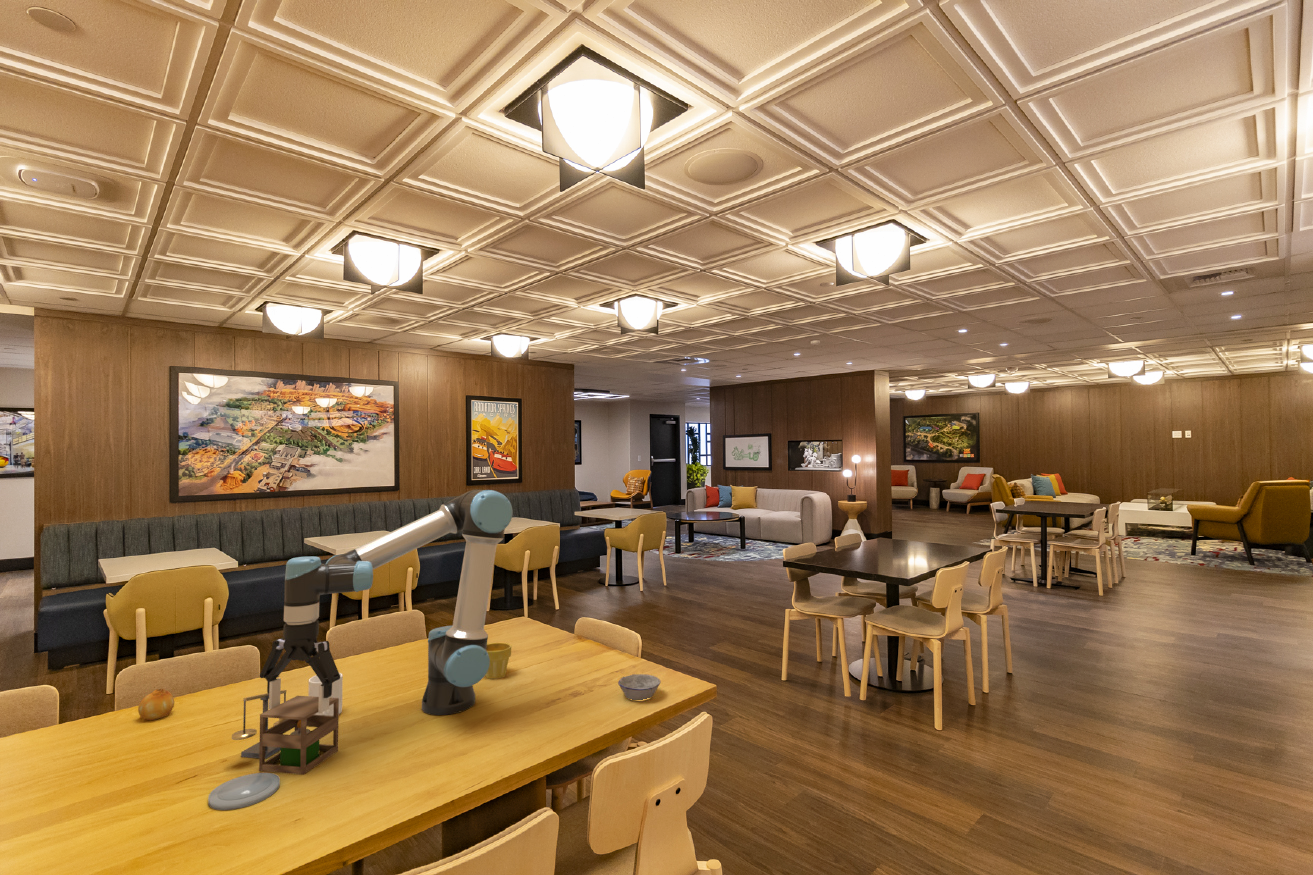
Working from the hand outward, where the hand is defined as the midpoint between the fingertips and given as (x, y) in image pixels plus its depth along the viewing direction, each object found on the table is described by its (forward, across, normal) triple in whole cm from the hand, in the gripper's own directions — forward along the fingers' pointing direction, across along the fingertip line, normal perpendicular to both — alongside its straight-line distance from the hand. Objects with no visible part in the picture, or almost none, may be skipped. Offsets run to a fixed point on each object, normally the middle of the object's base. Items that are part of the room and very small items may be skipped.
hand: (298, 709), depth 149 cm
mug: (+12, +12, -24) cm, 30 cm away
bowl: (+11, -74, -52) cm, 92 cm away
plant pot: (+12, -22, -63) cm, 68 cm away
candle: (+13, 0, 0) cm, 13 cm away
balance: (+12, +12, -3) cm, 18 cm away
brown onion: (+13, +61, -17) cm, 64 cm away
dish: (+13, +1, +15) cm, 19 cm away
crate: (+12, 0, 0) cm, 12 cm away
